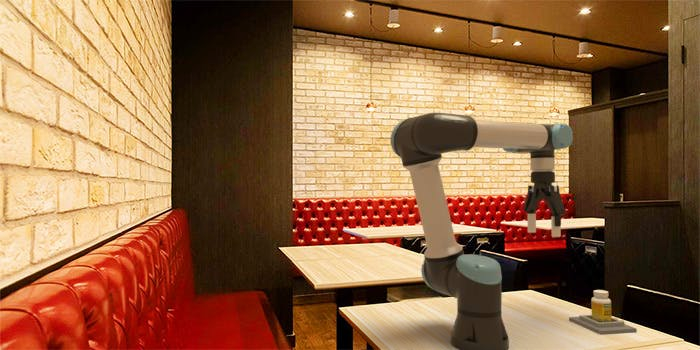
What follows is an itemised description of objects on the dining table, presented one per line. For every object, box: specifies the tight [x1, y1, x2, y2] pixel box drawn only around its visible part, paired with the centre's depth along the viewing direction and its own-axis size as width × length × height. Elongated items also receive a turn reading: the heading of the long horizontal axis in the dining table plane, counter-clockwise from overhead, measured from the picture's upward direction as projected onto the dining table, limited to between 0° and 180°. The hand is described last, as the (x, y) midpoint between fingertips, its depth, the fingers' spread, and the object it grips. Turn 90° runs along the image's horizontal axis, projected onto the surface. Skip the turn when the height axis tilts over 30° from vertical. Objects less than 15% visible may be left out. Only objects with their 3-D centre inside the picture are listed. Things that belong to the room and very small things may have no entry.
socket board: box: [568, 314, 638, 335], centre depth 139 cm, size 12×14×2 cm
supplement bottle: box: [590, 289, 612, 323], centre depth 139 cm, size 5×5×10 cm
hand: (543, 234), depth 152 cm, fingers open, 13 cm apart
